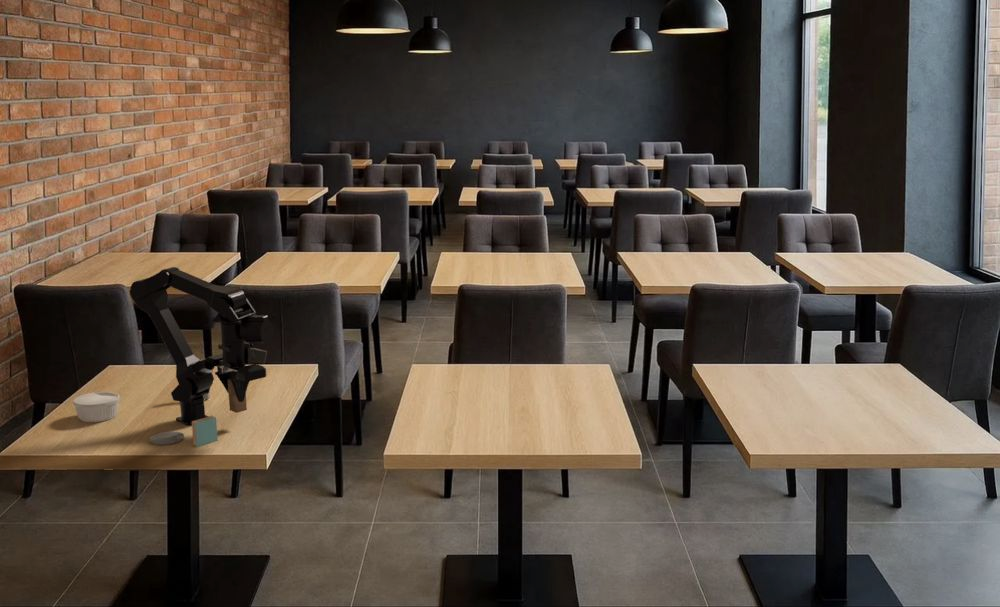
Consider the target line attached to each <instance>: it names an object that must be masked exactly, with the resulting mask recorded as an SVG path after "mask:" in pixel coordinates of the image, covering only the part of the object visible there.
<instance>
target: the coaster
mask: <svg viewBox="0 0 1000 607" xmlns="http://www.w3.org/2000/svg"><path fill="white" fill-rule="evenodd" d="M184 439H185V433H183V432H181V431H164V432H163V431H162V432H159V433H156V434H154V435H151V436H150V437H149V442H150V444H152V445H154V444H156V446H169V445H174V443H175V444H178V443H180V442H182V441H184Z"/></svg>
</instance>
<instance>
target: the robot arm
mask: <svg viewBox="0 0 1000 607" xmlns="http://www.w3.org/2000/svg"><path fill="white" fill-rule="evenodd" d="M170 288H173V289H175V290H177V291H180V292H183V293H185V294H188V295H190V296H192V297H194V298H195V299H199V300H200V301H203V302H205V303H206V304H207V305H208V306H209V308H210V309H211V310H212V311H215V313H217V314H216V315H215V316H214V317H213V318H212V319H211V321H212V323H219V326H220V339H221V340H220V341H221V343H220V344H218V345H217V347H218V348H217V349H219V350H221V353H219V354H215V355H211V356H208V357H207V358H205V357H204V358H202V359H200V358H198V357H197V356H195V354H194V352H193V350H192V348H191V347H190V345H189V343H188V341H187V339H186V337H185V336H184V334H183V332H182V331H181V328H180V326H179V325H178V323H177V321H176V320H175V317H174V315H173V314H172V312H171V310H170V308H169V294H168V291H167V290H168V289H170ZM129 295H130V297H131V299H132V300H133V302H134V303H135V304H136V306H137V307H138V308H139V309H140V310H141V311H143V312H144V313H145V314H147V315H148V316H149V317H150V319H151V320H152V323H153V324H154V327H155V328H156V330H157V332H158V333H159V336H160V337H161V339H162V341H163V343H164V344H165V347H166V349H167V351H168V352H169V354H170V356H171V358H172V360H173V362H174V363H175V366H176V367H175V371H176V372H175V378H176V381H177V386H176V387H175V388H174V389H173V390H172V391H171V392H170V394H171V397H172V400H173V401H175V402H179V404H180V405H179V406H180V416H179V417H176V418H175V420H176V421H178V422H180V423H183V424H185V425H188V426H190V425H191V426H192V421H195V420H199V419H202V418H206V417H209V416H210V415H209V416H208V415H206V410H205V409H206V407H205V400H204V398H203V395H205V394H208V393H209V392H210V391H211V387H212V386H213V385H214V380H215V378H214V375H216V376H217V377H218V379H219V381H220V382H221V384H222V386H223V387H224V389H225V391H226V392H227V395H229V392H228V379H231V382H232V384H233V387H234V390H235V393H236V396H237V398H238V400H239V402H243V401H244V398H245V394H247V390H248V386H249V384H250V382H251V381H255V380H259V379H263V378H266V377H267V368H265V367H264V365H260V364H265V363H266V359H267V355H268V351H267V350H264V349H260V348H256V347H255V346H254V343H255V344H258V343H259V344H269V343H271V341H272V340H273V338H274V336H275V335H274V333H275V327H274V325H273V323H272V322H271V321H270V320H269V316H268V315H266V314H265V315H264V314H261V315H257V312H256V310H255V308H254V307H253V305H252V304H251V303H250V301H249V300H248V298H247V297H246V295H245V292H244V291H243V290H242V289H241V288H238V287H233V286H228V285H217V284H214V283H212V282H210V281H207V280H204V279H202V278H199V277H197V276H194V275H193V274H190V273H188V272H185V271H183V270H181V269H180V268H178V267H176V266H171V267H168V268H164V269H161V270H160V271H159V272H157V273H156V274H154V275H152V276H150V277H146V278H142V279H138V280H135V281H134V282H132V283H131V286H130V290H129ZM253 362H258V363H260V364H257V363H253ZM215 367H216V369H217V371H215V372H214V369H215ZM213 373H214V374H213Z"/></svg>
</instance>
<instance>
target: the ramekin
mask: <svg viewBox="0 0 1000 607" xmlns="http://www.w3.org/2000/svg"><path fill="white" fill-rule="evenodd" d="M120 400H121V396H120V395H119V394H118V393H116V392H109V391H98V392H97V391H96V392H89V393H85V394H81V395H79V396H76V397H75V398H74V399H73V400H72V402H73V406H74V407H75V412H76V415H77V417H78V419H79V420H80V421H82V422H84V423H101V422H102V423H103V422H106V421H109V420H112V419H114V418H116V417H117V415H118V414H119V406H120Z"/></svg>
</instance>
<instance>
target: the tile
mask: <svg viewBox="0 0 1000 607" xmlns="http://www.w3.org/2000/svg"><path fill="white" fill-rule="evenodd" d="M217 428H218V426H217V417H216V416H214V415H209V417H206V418H202V419H199V420H195V421H192V424H191V430H192V442H193V446H194V447H197V448H199V447H201V446H205V445H208V444H212V443H215V442H217V441H219V438H218V429H217Z"/></svg>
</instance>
